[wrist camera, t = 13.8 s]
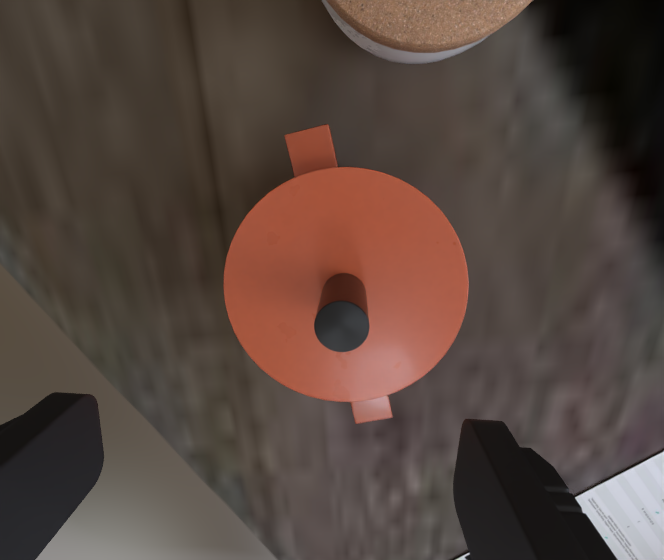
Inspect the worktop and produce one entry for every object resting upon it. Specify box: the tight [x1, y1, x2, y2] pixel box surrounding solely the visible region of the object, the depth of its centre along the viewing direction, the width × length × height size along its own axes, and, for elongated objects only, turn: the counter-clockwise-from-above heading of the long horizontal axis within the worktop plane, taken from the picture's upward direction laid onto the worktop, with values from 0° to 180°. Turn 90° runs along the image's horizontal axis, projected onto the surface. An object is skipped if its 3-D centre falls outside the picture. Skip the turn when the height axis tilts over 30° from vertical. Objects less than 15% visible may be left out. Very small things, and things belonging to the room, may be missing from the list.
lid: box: [224, 167, 469, 402], centre depth 20 cm, size 13×13×6 cm
